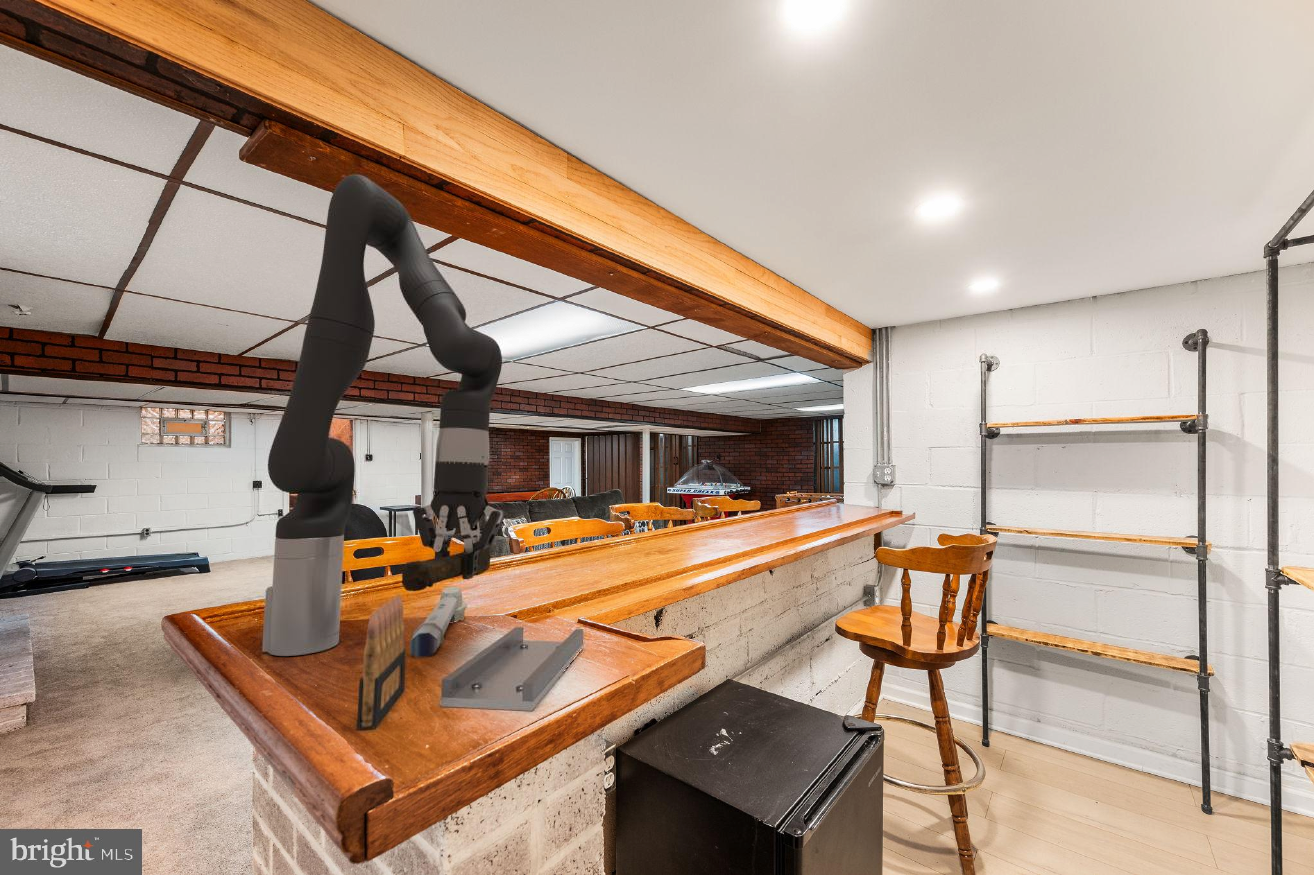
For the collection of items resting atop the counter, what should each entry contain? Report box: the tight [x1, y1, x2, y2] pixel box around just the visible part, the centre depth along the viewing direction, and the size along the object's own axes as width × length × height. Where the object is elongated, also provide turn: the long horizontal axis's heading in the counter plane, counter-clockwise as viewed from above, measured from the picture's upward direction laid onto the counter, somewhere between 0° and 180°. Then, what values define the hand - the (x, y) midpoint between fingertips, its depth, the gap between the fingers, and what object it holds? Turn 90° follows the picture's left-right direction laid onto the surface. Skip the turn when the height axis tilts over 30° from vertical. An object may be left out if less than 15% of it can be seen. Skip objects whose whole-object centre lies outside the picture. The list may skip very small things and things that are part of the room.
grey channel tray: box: [440, 626, 585, 712], centre depth 73 cm, size 11×23×3 cm, turn 174°
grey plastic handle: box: [409, 586, 468, 658], centre depth 92 cm, size 5×7×25 cm
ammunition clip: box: [356, 593, 407, 731], centre depth 62 cm, size 11×2×12 cm, turn 10°
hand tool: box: [401, 547, 491, 592], centre depth 79 cm, size 19×4×5 cm, turn 165°
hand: (455, 577), depth 79 cm, fingers closed on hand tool, 3 cm apart
